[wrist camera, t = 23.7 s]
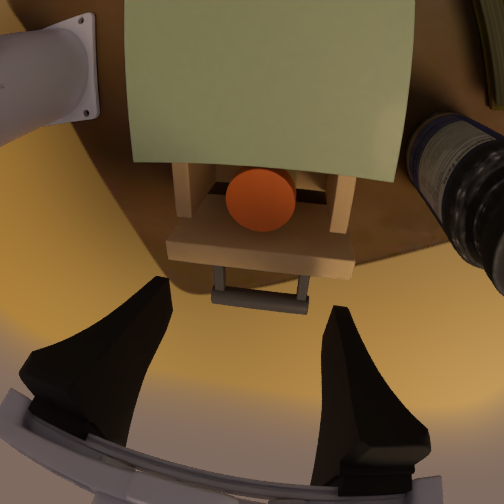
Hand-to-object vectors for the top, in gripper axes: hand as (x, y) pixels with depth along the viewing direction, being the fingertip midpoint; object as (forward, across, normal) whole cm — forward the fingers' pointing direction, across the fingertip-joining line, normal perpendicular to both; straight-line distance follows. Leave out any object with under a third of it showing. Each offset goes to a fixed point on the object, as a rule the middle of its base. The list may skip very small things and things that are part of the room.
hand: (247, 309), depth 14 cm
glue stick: (+7, 0, -4) cm, 8 cm away
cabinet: (+9, +1, -12) cm, 16 cm away
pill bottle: (+10, -11, -6) cm, 16 cm away
